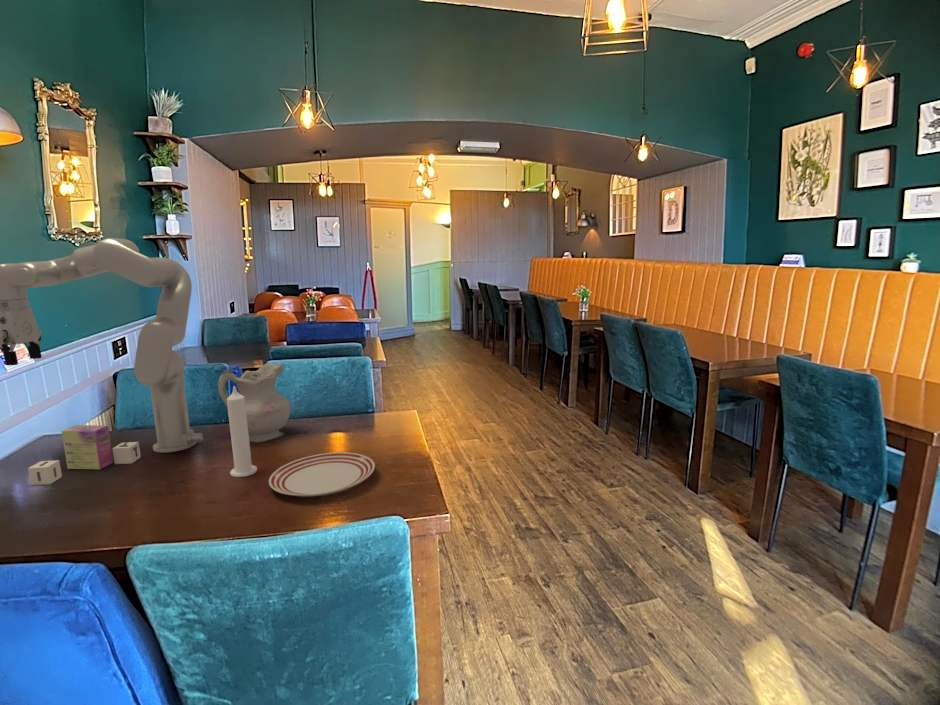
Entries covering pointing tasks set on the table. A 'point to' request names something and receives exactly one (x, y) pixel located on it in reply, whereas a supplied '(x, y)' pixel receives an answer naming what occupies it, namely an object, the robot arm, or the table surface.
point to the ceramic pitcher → (260, 401)
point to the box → (87, 447)
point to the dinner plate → (322, 474)
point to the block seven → (126, 453)
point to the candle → (239, 436)
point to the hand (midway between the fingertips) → (24, 361)
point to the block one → (45, 472)
